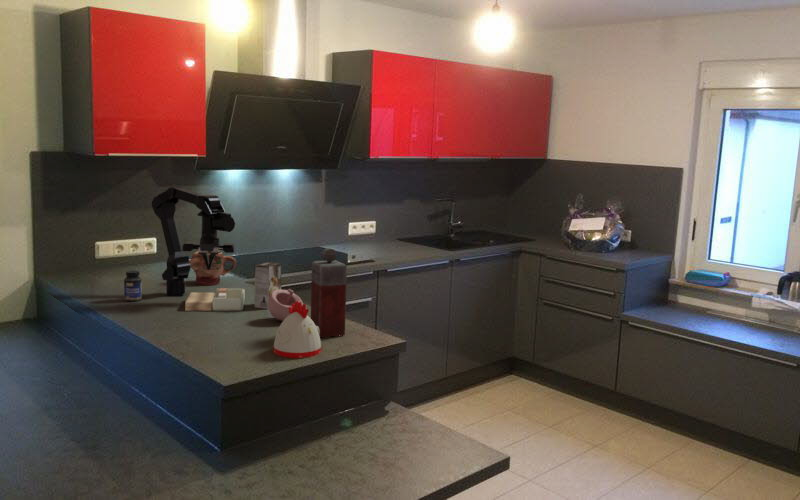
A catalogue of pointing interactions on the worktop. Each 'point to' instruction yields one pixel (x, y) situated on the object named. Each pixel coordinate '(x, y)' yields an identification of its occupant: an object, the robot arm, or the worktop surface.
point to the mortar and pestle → (282, 303)
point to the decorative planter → (215, 271)
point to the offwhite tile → (222, 295)
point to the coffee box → (266, 282)
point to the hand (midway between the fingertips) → (208, 269)
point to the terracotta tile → (222, 290)
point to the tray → (229, 300)
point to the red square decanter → (329, 294)
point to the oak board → (199, 301)
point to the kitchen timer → (297, 334)
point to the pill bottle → (132, 286)
